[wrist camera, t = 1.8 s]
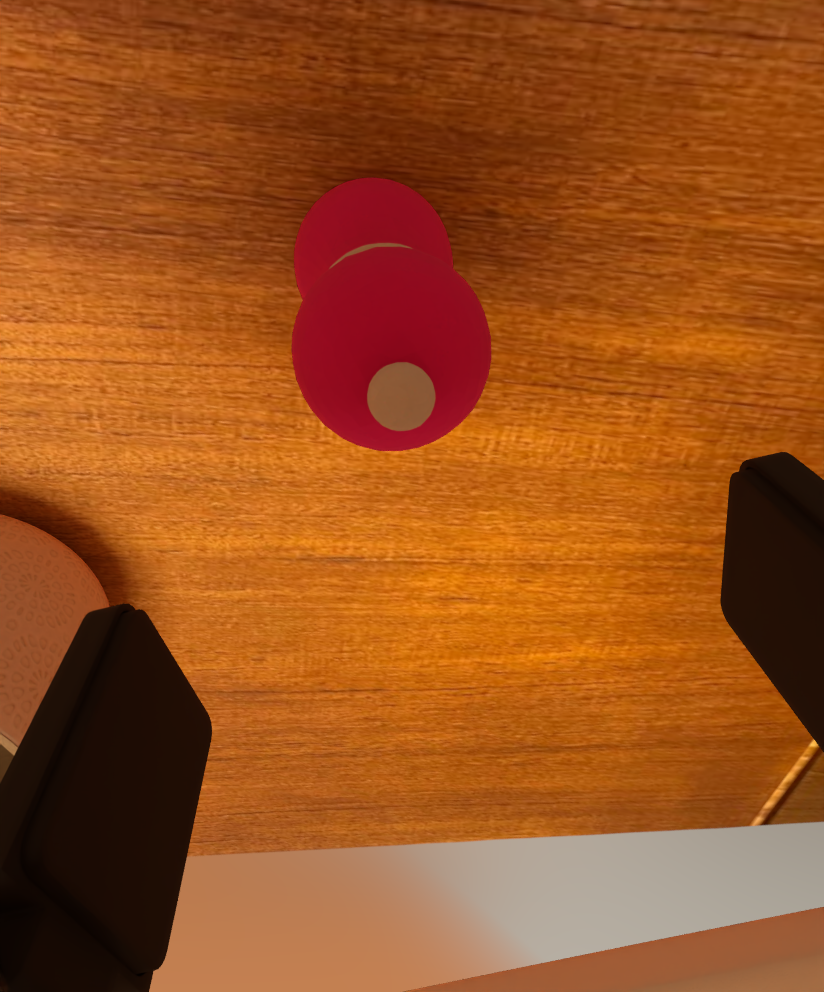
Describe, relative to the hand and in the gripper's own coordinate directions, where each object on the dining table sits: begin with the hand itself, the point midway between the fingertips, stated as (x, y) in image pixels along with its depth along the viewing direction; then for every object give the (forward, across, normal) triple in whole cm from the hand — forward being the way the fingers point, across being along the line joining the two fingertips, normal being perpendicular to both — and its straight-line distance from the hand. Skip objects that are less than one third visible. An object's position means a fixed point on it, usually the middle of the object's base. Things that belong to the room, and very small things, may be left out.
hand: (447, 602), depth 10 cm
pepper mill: (+27, 0, -1) cm, 27 cm away
